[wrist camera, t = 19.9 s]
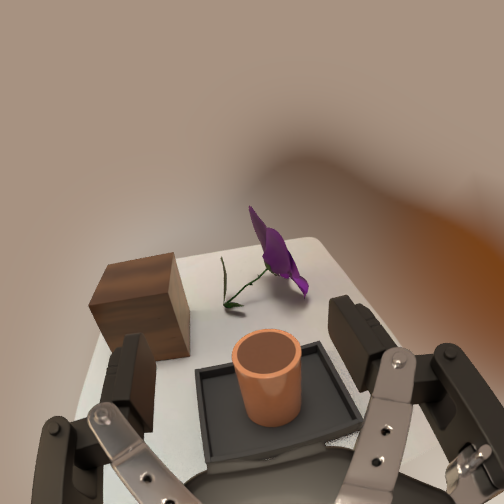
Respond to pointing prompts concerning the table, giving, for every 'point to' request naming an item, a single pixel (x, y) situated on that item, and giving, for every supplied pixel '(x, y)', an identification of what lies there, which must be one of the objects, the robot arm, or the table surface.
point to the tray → (282, 437)
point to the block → (144, 305)
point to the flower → (271, 258)
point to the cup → (269, 376)
